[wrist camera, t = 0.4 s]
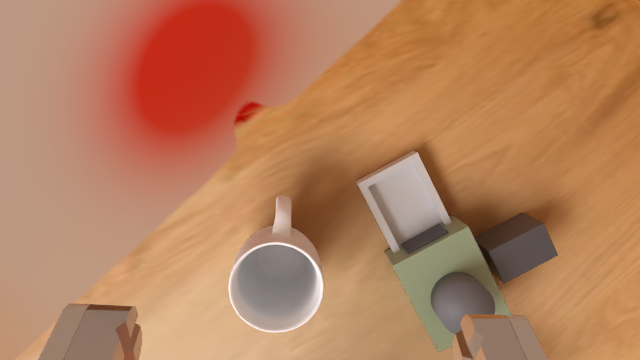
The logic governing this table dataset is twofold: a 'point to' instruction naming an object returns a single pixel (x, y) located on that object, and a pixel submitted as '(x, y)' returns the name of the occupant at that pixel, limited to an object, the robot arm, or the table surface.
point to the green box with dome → (430, 250)
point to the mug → (277, 276)
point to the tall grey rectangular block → (515, 246)
